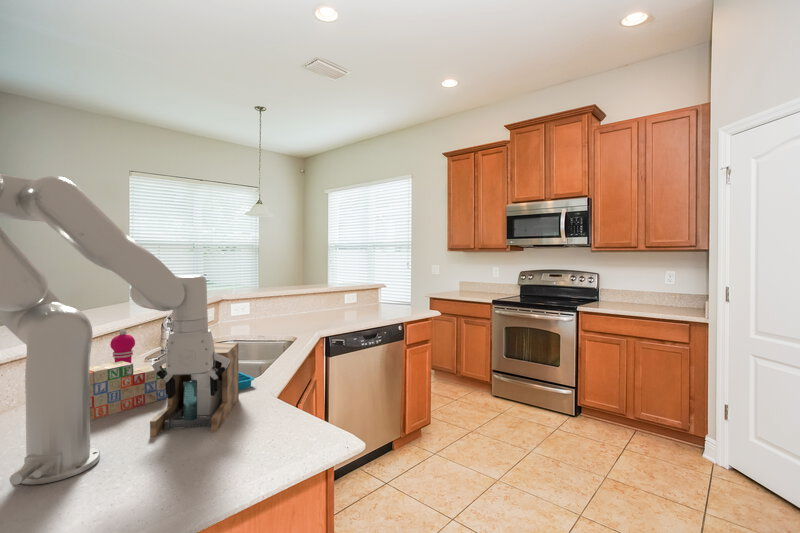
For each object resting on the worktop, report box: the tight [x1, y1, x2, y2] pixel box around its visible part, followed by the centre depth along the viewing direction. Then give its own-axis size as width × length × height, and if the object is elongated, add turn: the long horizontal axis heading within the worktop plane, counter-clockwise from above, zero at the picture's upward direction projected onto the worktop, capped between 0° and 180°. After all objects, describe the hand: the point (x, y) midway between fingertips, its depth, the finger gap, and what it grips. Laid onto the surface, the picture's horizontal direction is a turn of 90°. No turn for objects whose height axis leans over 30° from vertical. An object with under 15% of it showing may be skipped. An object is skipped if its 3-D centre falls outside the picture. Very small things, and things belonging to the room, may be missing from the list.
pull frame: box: [164, 380, 222, 431], centre depth 105 cm, size 18×11×11 cm, turn 10°
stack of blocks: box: [89, 361, 167, 421], centre depth 110 cm, size 21×6×12 cm, turn 147°
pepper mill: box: [109, 328, 136, 363], centre depth 118 cm, size 7×7×20 cm
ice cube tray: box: [238, 370, 255, 391], centre depth 131 cm, size 12×20×3 cm, turn 48°
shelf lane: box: [149, 342, 240, 437], centre depth 104 cm, size 23×14×16 cm, turn 10°
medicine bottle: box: [191, 366, 222, 416], centre depth 108 cm, size 7×7×12 cm
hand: (193, 395), depth 98 cm, fingers open, 9 cm apart
